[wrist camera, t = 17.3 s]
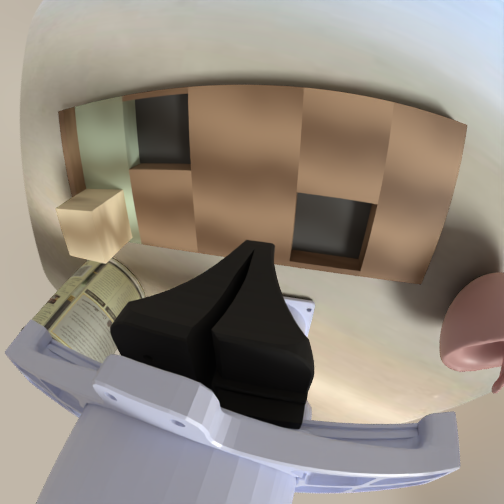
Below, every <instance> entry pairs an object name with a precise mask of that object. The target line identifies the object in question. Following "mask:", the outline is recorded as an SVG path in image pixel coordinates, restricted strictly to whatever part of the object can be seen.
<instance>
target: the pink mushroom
mask: <svg viewBox="0 0 504 504" xmlns="http://www.w3.org/2000/svg"><path fill="white" fill-rule="evenodd" d="M440 357H441V360H442V362H443V363H444V364H445V365H446V366H447V367H449V368H450V369H453V370H456V371H459V372H465V371H477V370H482V369H489V368H494V367H500V366H502V367H501V371H500V376H499V378H498V379H497V381H496V382H495V383H494V384H493V386H492V392H493V393H498V392H499V391H500V390H501V388H502V387H503V386H504V273H502V272H497V273H490V274H486V275H483V276H481V277H479V278H477V279H475V280H473V281H472V282H470V283H469V284H468V285H467V286H465V287H464V288H463V289H462V290H461V291H460V292H459V294H458V295H457V296H456V297H455V299H454V300H453V302H452V303H451V305H450V307H449V309H448V311H447V313H446V315H445V318H444V321H443V324H442V328H441V334H440Z"/></svg>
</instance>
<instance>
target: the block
mask: <svg viewBox="0 0 504 504" xmlns="http://www.w3.org/2000/svg"><path fill="white" fill-rule="evenodd" d="M56 212H57V216H58V219H59V223H60V226H61V230H62V233H63V236H64V239H65V242H66V245H67V248H68V251H69V254H70V256H74V257H79V258H83V259H87V260H91V261H96V262H100V263H104V264H106V263H107V262H108V261H109V260H110V259H111V258H112V257H113V256H114V255H115V254H116V253H117V252H118V251H119V250H120V249H121V248H122V247H123V246H124V245H125V244H126V243H127V242H128V241H130V240H131V239H132V233H131V228H130V224H129V219H128V213H127V208H126V203H125V197H124V191H123V190H118V189H85V190H84V191H82V192H80V193H79V194H77V195H75V196H74V197H72V198H71V199H69V200H68V201H66V202H65V203H63V204H62V205H60V206H59V207H57V208H56Z"/></svg>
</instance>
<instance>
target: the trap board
mask: <svg viewBox="0 0 504 504" xmlns="http://www.w3.org/2000/svg"><path fill="white" fill-rule="evenodd" d="M58 113H59V123H60V132H61V140H62V147H63V153H64V159H65V165H66V170H67V176H68V181H69V185H70V190H71V194H72V197H74V196H75V195H77V194H79V193H80V192H82V191H84V190H85V189H118V190H123V191H124V197H125V203H126V208H127V213H128V219H129V224H130V228H131V233H132V239H131V240H130V241H128V242H131V243H138V244H144V245H150V246H157V247H163V248H170V249H176V250H183V251H189V252H196V253H203V254H209V255H216V256H223V257H226V256H228V255H229V254H230V253H231V252H232V251H234V250H235V249H236V248H237V247H238V246H239V245H241V244H242V243H243V242H244V241H246V240H252V241H260V242H267V243H273V244H274V245H275V254H274V264H277V265H284V266H291V267H298V268H305V269H312V270H319V271H326V272H333V273H340V274H348V275H355V276H362V277H369V278H377V279H384V280H392V281H399V282H407V283H414V284H421V283H422V281H423V278H424V276H425V274H426V271H427V269H428V266H429V264H430V261H431V259H432V256H433V254H434V251H435V248H436V246H437V243H438V240H439V237H440V235H441V232H442V229H443V226H444V223H445V220H446V216H447V213H448V210H449V207H450V203H451V200H452V196H453V192H454V189H455V185H456V181H457V177H458V172H459V168H460V164H461V159H462V154H463V149H464V143H465V137H466V131H467V125H466V124H463V123H460V122H458V121H455V120H452V119H449V118H446V117H444V116H441V115H437V114H434V113H431V112H428V111H425V110H421V109H418V108H414V107H411V106H407V105H403V104H399V103H395V102H391V101H386V100H382V99H377V98H372V97H367V96H362V95H356V94H351V93H344V92H338V91H330V90H323V89H314V88H304V87H292V86H275V85H211V86H194V87H182V88H172V89H163V90H156V91H149V92H142V93H136V94H130V95H124V96H119V97H114V98H109V99H105V100H100V101H96V102H92V103H88V104H84V105H80V106H76V107H73V108H69V109H65V110H62V111H58Z"/></svg>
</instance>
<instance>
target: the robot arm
mask: <svg viewBox="0 0 504 504" xmlns="http://www.w3.org/2000/svg"><path fill="white" fill-rule="evenodd" d="M274 254H275V245H274V244H273V243H267V242H260V241H252V240H246V241H244V242H243V243H242V244H241V245H239V246H238V247H237V248H236V249H235V250H234V251H232V252H231V253H230V254H229V255H228V256H226V257H225V258H224V259H222V260H221V261H220V262H219V263H217V264H216V265H214V266H213V267H212V268H210V269H209V270H207V271H206V272H204V273H203V274H201V275H199V276H197V277H196V278H194V279H192V280H190V281H188V282H186V283H184V284H181V285H179V286H177V287H175V288H173V289H170V290H168V291H165V292H162V293H159V294H156V295H153V296H150V297H146V298H142V299H138V300H134V301H129V302H128V303H127V304H126V306H125V307H124V308H123V309H122V311H121V312H120V314H119V315H118V316H117V318H116V319H115V320H114V322H113V323H112V325H111V327H110V333H111V336H112V339H113V341H114V343H115V345H116V347H117V349H118V350H119V352H120V354H121V356H120V355H115V354H110V355H109V356H107V357H106V358H105V360H104V362H103V363H100V362H98V361H95V360H93V359H91V358H89V357H87V356H85V355H83V354H81V353H79V352H77V351H75V350H73V349H71V348H69V347H67V346H65V345H63V344H61V343H59V342H58V341H56V340H54V339H52V336H51V335H50V333H49V332H48V330H47V329H46V328H45V327H44V326H42V325H41V324H39V323H37V322H35V321H34V320H30V321H29V322H28V323H27V325H26V326H25V327H24V328H23V329H22V331H21V332H20V333H19V335H18V336H17V337H16V338H15V339H14V341H13V342H12V343H11V345H10V346H9V347H8V349H7V350H6V351H5V354H6V355H7V357H8V358H9V359H10V360H11V361H12V363H13V364H14V365H15V366H16V367H17V368H18V370H19V371H20V372H21V373H22V374H23V375H24V376H25V377H26V378H27V380H28V381H29V382H30V383H32V384H33V385H34V386H35V387H37V388H38V389H39V390H41V391H42V392H43V393H45V394H46V395H47V396H48V397H50V398H51V399H53V400H54V401H55V402H57V403H58V404H59V405H61V406H62V407H64V408H65V409H67V410H68V411H69V412H71V413H72V414H74V415H75V416H77V417H78V418H79V419H78V421H77V423H76V425H75V427H74V428H73V430H72V432H71V434H70V435H69V437H68V439H67V441H66V443H65V445H64V447H63V449H62V451H61V452H60V454H59V456H58V458H57V460H56V463H55V464H54V466H53V468H52V470H51V472H50V474H49V477H48V478H47V481H46V483H45V485H44V487H43V489H42V491H41V493H40V496H39V498H38V500H37V502H36V504H292V499H293V496H294V492H300V493H354V492H368V491H379V490H388V489H396V488H403V487H410V486H417V485H423V484H426V483H429V482H431V481H433V480H436V479H438V478H440V477H443V476H445V475H447V474H449V473H451V472H453V471H456V470H458V469H459V468H460V453H459V452H460V451H459V440H458V430H457V421H456V414H455V412H443V413H433V414H429V415H427V416H425V417H423V418H422V419H421V420H420V421H419V422H418V423H411V424H410V423H409V424H354V423H336V422H324V421H314V420H311V417H312V408H311V405H310V404H309V403H308V401H307V395H308V390H309V388H310V385H311V383H312V380H313V377H314V360H313V354H312V350H311V346H310V342H309V339H308V338H307V336H308V332H309V328H310V324H311V320H312V316H313V312H314V308H315V303H314V302H313V301H311V300H304V299H298V298H291V297H284V296H283V295H282V292H281V290H280V287H279V283H278V280H277V276H276V271H275V266H274ZM307 308H311V309H307Z"/></svg>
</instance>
